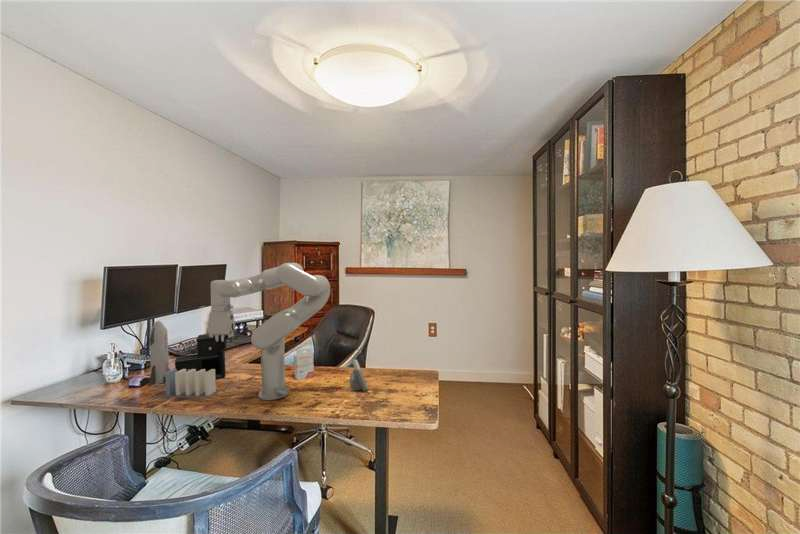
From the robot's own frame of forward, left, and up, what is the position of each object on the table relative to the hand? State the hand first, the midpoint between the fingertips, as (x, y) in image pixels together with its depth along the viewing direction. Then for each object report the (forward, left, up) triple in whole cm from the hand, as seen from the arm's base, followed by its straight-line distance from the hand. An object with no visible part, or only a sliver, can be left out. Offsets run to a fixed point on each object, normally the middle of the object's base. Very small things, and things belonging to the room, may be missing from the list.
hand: (221, 350), depth 155 cm
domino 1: (+21, +11, -19) cm, 31 cm away
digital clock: (-46, -38, -20) cm, 63 cm away
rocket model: (+43, +6, -20) cm, 48 cm away
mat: (+13, +7, -20) cm, 25 cm away
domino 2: (+17, +9, -19) cm, 27 cm away
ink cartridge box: (-14, -34, -20) cm, 42 cm away
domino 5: (+5, +3, -19) cm, 20 cm away
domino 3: (+13, +7, -19) cm, 24 cm away
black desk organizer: (+30, -6, -20) cm, 36 cm away
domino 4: (+9, +5, -19) cm, 22 cm away
